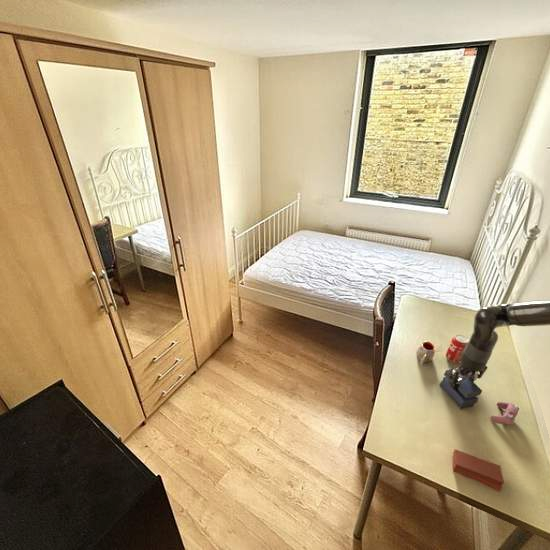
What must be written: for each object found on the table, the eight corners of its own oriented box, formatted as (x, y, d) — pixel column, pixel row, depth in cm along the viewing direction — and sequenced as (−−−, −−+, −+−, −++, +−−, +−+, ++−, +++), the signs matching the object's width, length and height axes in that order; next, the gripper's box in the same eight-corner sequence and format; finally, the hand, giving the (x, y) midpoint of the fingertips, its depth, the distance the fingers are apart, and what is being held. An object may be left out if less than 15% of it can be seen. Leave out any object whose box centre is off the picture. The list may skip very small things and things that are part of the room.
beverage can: (449, 352, 133) (457, 331, 127) (463, 360, 129) (473, 339, 123) (442, 357, 130) (450, 337, 124) (456, 366, 125) (466, 345, 120)
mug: (418, 348, 134) (422, 338, 131) (434, 355, 131) (438, 344, 128) (410, 364, 126) (414, 352, 123) (427, 372, 123) (431, 360, 119)
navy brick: (475, 407, 108) (480, 398, 106) (460, 410, 107) (464, 402, 104) (452, 382, 118) (456, 374, 115) (438, 385, 116) (441, 377, 114)
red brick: (496, 473, 88) (502, 466, 86) (499, 492, 84) (505, 485, 82) (450, 454, 93) (454, 447, 91) (451, 471, 89) (455, 464, 87)
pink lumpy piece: (499, 429, 102) (517, 425, 97) (488, 418, 104) (505, 412, 99) (506, 412, 108) (524, 407, 103) (496, 402, 110) (512, 396, 105)
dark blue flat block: (479, 395, 106) (482, 390, 104) (466, 398, 104) (468, 393, 103) (456, 372, 115) (458, 367, 114) (443, 374, 114) (445, 370, 112)
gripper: (467, 365, 97) (451, 398, 105) (502, 358, 100) (484, 391, 108) (450, 349, 103) (437, 382, 112) (484, 343, 106) (468, 375, 115)
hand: (460, 386), depth 110 cm, fingers closed on dark blue flat block, 6 cm apart
